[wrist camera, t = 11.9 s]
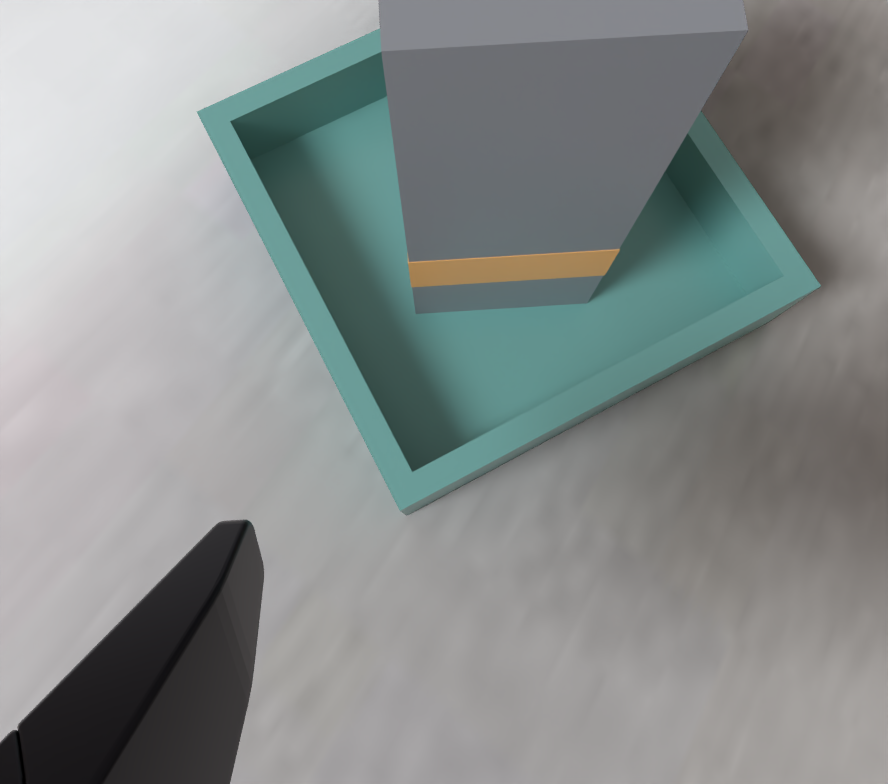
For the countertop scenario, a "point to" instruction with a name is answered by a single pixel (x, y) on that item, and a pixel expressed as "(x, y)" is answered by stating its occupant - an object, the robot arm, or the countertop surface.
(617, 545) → the countertop surface
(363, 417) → the tray
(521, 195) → the gray rectangular block
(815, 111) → the countertop surface
